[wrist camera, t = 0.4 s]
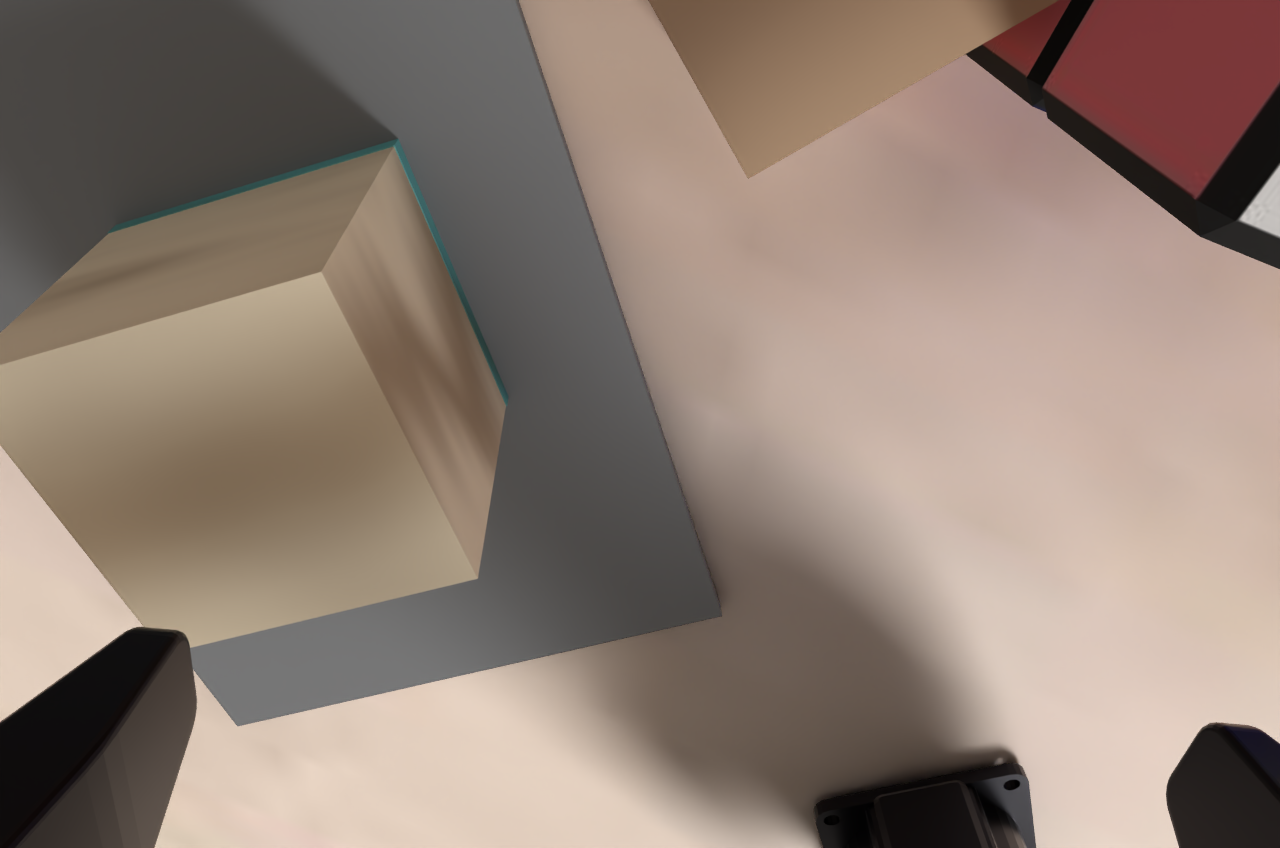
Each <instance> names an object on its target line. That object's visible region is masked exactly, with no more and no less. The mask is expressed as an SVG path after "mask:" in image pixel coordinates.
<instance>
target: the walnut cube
mask: <svg viewBox="0 0 1280 848" xmlns="http://www.w3.org/2000/svg"><path fill="white" fill-rule="evenodd" d="M1057 1H1059V0H649V2H650V4H651V6H652V7H653V9H654V11H655V13H656V15H657V16H658V18H659V20H660V22H661V23H662V25H663V27H664V29H665V31H666V32H667V34H668V36H669V38H670V40H671V41H672V43H673V45H674V47H675V49H676V50H677V52H678V54H679V56H680V58H681V59H682V61H683V63H684V65H685V67H686V68H687V70H688V72H689V74H690V76H691V77H692V79H693V81H694V83H695V84H696V86H697V88H698V90H699V92H700V93H701V95H702V97H703V99H704V101H705V102H706V104H707V106H708V108H709V110H710V111H711V113H712V115H713V117H714V119H715V120H716V122H717V124H718V126H719V128H720V129H721V131H722V133H723V135H724V137H725V138H726V140H727V142H728V144H729V145H730V147H731V149H732V151H733V153H734V154H735V156H736V158H737V160H738V162H739V163H740V165H741V167H742V169H743V171H744V172H745V174H746V176H747V178H748V179H749V178H750V177H752V176H754V175H756V174H757V173H759V172H761V171H762V170H764V169H766V168H768V167H769V166H771V165H773V164H775V163H776V162H778V161H780V160H782V159H783V158H785V157H787V156H789V155H790V154H792V153H794V152H796V151H797V150H799V149H801V148H803V147H804V146H806V145H808V144H810V143H811V142H813V141H815V140H816V139H818V138H820V137H822V136H823V135H825V134H827V133H829V132H830V131H832V130H834V129H836V128H837V127H839V126H841V125H843V124H844V123H846V122H848V121H850V120H851V119H853V118H855V117H857V116H858V115H860V114H862V113H863V112H865V111H867V110H869V109H870V108H872V107H874V106H876V105H877V104H879V103H881V102H883V101H884V100H886V99H888V98H890V97H891V96H893V95H895V94H897V93H898V92H900V91H902V90H904V89H905V88H907V87H909V86H911V85H912V84H914V83H916V82H917V81H919V80H921V79H923V78H924V77H926V76H928V75H930V74H931V73H933V72H935V71H937V70H938V69H940V68H942V67H944V66H945V65H947V64H949V63H951V62H952V61H954V60H956V59H958V58H959V57H961V56H963V55H965V54H966V53H968V52H970V51H971V50H973V49H975V48H977V47H978V46H980V45H982V44H984V43H985V42H987V41H989V40H991V39H992V38H994V37H996V36H998V35H999V34H1001V33H1003V32H1005V31H1006V30H1008V29H1010V28H1012V27H1013V26H1015V25H1017V24H1018V23H1020V22H1022V21H1024V20H1025V19H1027V18H1029V17H1031V16H1032V15H1034V14H1036V13H1038V12H1039V11H1041V10H1043V9H1045V8H1046V7H1048V6H1050V5H1052V4H1053V3H1055V2H1057Z"/></svg>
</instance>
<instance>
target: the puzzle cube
mask: <svg viewBox="0 0 1280 848" xmlns="http://www.w3.org/2000/svg"><path fill="white" fill-rule="evenodd" d="M966 55H967V56H968V57H970V58H971V59H972V60H974V61H975V62H976V63H977V64H979V65H980V66H981V67H983V68H984V69H985V70H986V71H988V72H989V73H990V74H992V75H993V76H994V77H995V78H997V79H998V80H999V81H1001V82H1002V83H1003V84H1004V85H1006V86H1007V87H1008V88H1010V89H1011V90H1012V91H1013V92H1015V93H1016V94H1017V95H1019V96H1020V97H1021V98H1022V99H1024V100H1025V101H1026V102H1028V103H1029V104H1030V105H1031V106H1033V107H1035V108H1038V109H1040V110H1042V111H1045V112H1046V113H1047V117H1048V119H1050V120H1051V121H1052V122H1053V123H1055V124H1056V125H1057V126H1059V127H1060V128H1061V129H1062V130H1064V131H1065V132H1066V133H1068V134H1069V135H1070V136H1071V137H1073V138H1074V139H1075V140H1076V141H1078V142H1079V143H1080V144H1082V145H1083V146H1084V147H1085V148H1087V149H1088V150H1089V151H1091V152H1092V153H1093V154H1094V155H1096V156H1097V157H1098V158H1100V159H1101V160H1102V161H1103V162H1105V163H1106V164H1107V165H1109V166H1110V167H1111V168H1112V169H1114V170H1115V171H1116V172H1118V173H1119V174H1120V175H1121V176H1123V177H1124V178H1125V179H1127V180H1128V181H1129V182H1130V183H1132V184H1133V185H1134V186H1136V187H1137V188H1138V189H1139V190H1141V191H1142V192H1143V193H1145V194H1146V195H1147V196H1148V197H1150V198H1151V199H1152V200H1154V201H1155V202H1156V203H1157V204H1159V205H1160V206H1161V207H1163V208H1164V209H1165V210H1166V211H1168V212H1169V213H1170V214H1172V215H1173V216H1174V217H1175V218H1177V219H1178V220H1179V221H1181V222H1182V223H1183V224H1184V225H1186V226H1187V227H1188V228H1190V229H1191V230H1192V231H1193V232H1195V233H1196V234H1197V235H1199V236H1200V237H1202V238H1205V239H1207V240H1210V241H1212V242H1215V243H1217V244H1219V245H1222V246H1224V247H1227V248H1229V249H1232V250H1234V251H1237V252H1239V253H1241V254H1244V255H1246V256H1249V257H1251V258H1254V259H1256V260H1259V261H1261V262H1263V263H1266V264H1268V265H1271V266H1273V267H1276V268H1278V269H1280V0H1059V1H1057V2H1055V3H1053V4H1052V5H1050V6H1048V7H1046V8H1045V9H1043V10H1041V11H1039V12H1038V13H1036V14H1034V15H1032V16H1031V17H1029V18H1027V19H1025V20H1024V21H1022V22H1020V23H1018V24H1017V25H1015V26H1013V27H1012V28H1010V29H1008V30H1006V31H1005V32H1003V33H1001V34H999V35H998V36H996V37H994V38H992V39H991V40H989V41H987V42H985V43H984V44H982V45H980V46H978V47H977V48H975V49H973V50H971V51H970V52H968V53H966Z"/></svg>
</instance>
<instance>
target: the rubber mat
mask: <svg viewBox="0 0 1280 848" xmlns="http://www.w3.org/2000/svg"><path fill="white" fill-rule="evenodd" d="M395 139H399V141H400V144H401V146H402V148H403V151H404V153H405V155H406V158H407V160H408V162H409V165H410V167H411V170H412V172H413V174H414V177H415V179H416V181H417V184H418V186H419V188H420V191H421V193H422V195H423V198H424V200H425V202H426V205H427V207H428V209H429V212H430V214H431V216H432V219H433V221H434V223H435V226H436V228H437V230H438V233H439V235H440V237H441V240H442V242H443V244H444V247H445V249H446V251H447V254H448V256H449V258H450V261H451V263H452V265H453V268H454V270H455V272H456V275H457V277H458V279H459V282H460V284H461V286H462V289H463V291H464V293H465V296H466V298H467V300H468V303H469V305H470V307H471V310H472V312H473V314H474V317H475V319H476V321H477V324H478V326H479V328H480V331H481V333H482V335H483V338H484V340H485V342H486V345H487V347H488V349H489V352H490V354H491V356H492V359H493V361H494V363H495V366H496V368H497V370H498V373H499V375H500V378H501V380H502V382H503V385H504V387H505V389H506V392H507V394H508V396H509V398H508V404H507V406H506V409H505V415H504V421H503V427H502V433H501V439H500V445H499V452H498V458H497V464H496V470H495V476H494V482H493V488H492V495H491V501H490V507H489V513H488V519H487V525H486V531H485V538H484V544H483V550H482V556H481V562H480V568H479V574H478V579H475V580H470V581H466V582H462V583H458V584H454V585H450V586H446V587H441V588H437V589H433V590H429V591H425V592H421V593H416V594H412V595H408V596H404V597H400V598H396V599H392V600H387V601H383V602H379V603H375V604H371V605H367V606H362V607H358V608H354V609H350V610H346V611H342V612H337V613H333V614H329V615H325V616H321V617H317V618H313V619H308V620H304V621H300V622H296V623H292V624H288V625H283V626H279V627H275V628H271V629H267V630H263V631H258V632H254V633H250V634H246V635H242V636H238V637H234V638H229V639H225V640H221V641H217V642H213V643H209V644H204V645H200V646H196V647H192V648H190V652H191V659H192V667H193V670H194V671H195V672H196V674H197V675H198V676H199V677H200V679H201V680H202V681H203V683H204V684H205V685H206V686H207V688H208V689H209V690H210V692H211V693H212V694H213V695H214V697H215V698H216V699H217V701H218V702H219V703H220V704H221V706H222V707H223V708H224V710H225V711H226V712H227V713H228V715H229V716H230V717H231V719H232V720H233V721H234V722H235V724H236V725H237V726H241V725H245V724H250V723H254V722H259V721H263V720H267V719H272V718H276V717H281V716H285V715H289V714H294V713H298V712H303V711H307V710H311V709H316V708H320V707H324V706H329V705H333V704H338V703H342V702H346V701H351V700H355V699H360V698H364V697H368V696H373V695H377V694H382V693H386V692H390V691H395V690H399V689H404V688H408V687H412V686H417V685H421V684H426V683H430V682H434V681H439V680H443V679H448V678H452V677H456V676H461V675H465V674H470V673H474V672H478V671H483V670H487V669H492V668H496V667H500V666H505V665H509V664H514V663H518V662H522V661H527V660H531V659H535V658H540V657H544V656H549V655H553V654H557V653H562V652H566V651H571V650H575V649H579V648H584V647H588V646H593V645H597V644H601V643H606V642H610V641H615V640H619V639H623V638H628V637H632V636H637V635H641V634H645V633H650V632H654V631H659V630H663V629H667V628H672V627H676V626H681V625H685V624H689V623H694V622H698V621H703V620H707V619H711V618H716V617H720V616H722V613H721V605H720V602H719V599H718V596H717V593H716V590H715V587H714V584H713V581H712V578H711V575H710V572H709V569H708V566H707V563H706V560H705V557H704V554H703V551H702V548H701V545H700V542H699V539H698V536H697V533H696V530H695V528H694V525H693V522H692V519H691V516H690V513H689V510H688V507H687V504H686V501H685V498H684V495H683V492H682V489H681V486H680V483H679V480H678V477H677V474H676V471H675V468H674V465H673V462H672V459H671V456H670V453H669V450H668V447H667V444H666V441H665V438H664V435H663V432H662V429H661V426H660V423H659V420H658V417H657V414H656V411H655V408H654V405H653V402H652V399H651V396H650V393H649V390H648V387H647V384H646V381H645V378H644V375H643V372H642V369H641V366H640V363H639V360H638V357H637V354H636V351H635V348H634V345H633V342H632V339H631V336H630V333H629V330H628V327H627V324H626V321H625V318H624V315H623V312H622V309H621V306H620V303H619V300H618V297H617V294H616V291H615V288H614V285H613V282H612V279H611V276H610V273H609V270H608V267H607V264H606V261H605V258H604V255H603V252H602V249H601V246H600V243H599V240H598V237H597V234H596V231H595V228H594V225H593V222H592V219H591V216H590V213H589V210H588V207H587V204H586V201H585V198H584V195H583V192H582V189H581V186H580V183H579V180H578V177H577V174H576V171H575V168H574V165H573V162H572V159H571V156H570V153H569V150H568V147H567V144H566V141H565V138H564V135H563V132H562V129H561V126H560V123H559V120H558V117H557V114H556V111H555V108H554V105H553V102H552V99H551V96H550V93H549V90H548V87H547V84H546V81H545V78H544V75H543V72H542V69H541V66H540V63H539V60H538V57H537V54H536V51H535V48H534V45H533V42H532V39H531V36H530V33H529V30H528V27H527V24H526V21H525V18H524V15H523V12H522V9H521V6H520V3H519V0H0V333H1V332H2V331H3V330H4V329H5V328H6V327H7V326H8V325H9V324H10V323H12V322H13V321H14V320H15V319H16V318H17V317H18V316H19V315H20V314H21V313H22V312H24V311H25V310H26V309H27V308H28V307H29V306H30V305H31V304H32V303H33V302H34V301H36V300H37V299H38V298H39V297H40V296H41V295H42V294H43V293H44V292H45V291H46V290H48V289H49V288H50V287H51V286H52V285H53V284H54V283H55V282H56V281H57V280H58V279H60V278H61V277H62V276H63V275H64V274H65V273H66V272H67V271H68V270H69V269H70V268H72V267H73V266H74V265H75V264H76V263H77V262H78V261H79V260H80V259H81V258H82V257H84V256H85V255H86V254H87V253H88V252H89V251H90V250H91V249H92V248H93V247H94V246H96V245H97V244H98V243H99V242H100V241H101V240H102V239H103V238H104V237H105V236H107V235H108V232H109V231H110V230H111V229H112V228H113V227H114V226H115V225H117V224H121V223H124V222H127V221H130V220H134V219H137V218H140V217H144V216H147V215H150V214H153V213H157V212H160V211H163V210H166V209H170V208H173V207H176V206H179V205H183V204H186V203H189V202H193V201H196V200H199V199H202V198H206V197H209V196H212V195H215V194H219V193H222V192H225V191H229V190H232V189H235V188H238V187H242V186H245V185H248V184H251V183H255V182H258V181H261V180H264V179H268V178H271V177H274V176H278V175H281V174H284V173H287V172H291V171H294V170H297V169H300V168H304V167H307V166H310V165H313V164H317V163H320V162H323V161H327V160H330V159H333V158H336V157H340V156H343V155H346V154H349V153H353V152H356V151H359V150H362V149H366V148H369V147H372V146H376V145H379V144H382V143H385V142H389V141H392V140H395Z"/></svg>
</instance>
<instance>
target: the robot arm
mask: <svg viewBox="0 0 1280 848" xmlns="http://www.w3.org/2000/svg"><path fill="white" fill-rule="evenodd" d="M196 709H197V696H196V689H195V682H194V674H193V667H192V659H191V652H190V645H189V641H188V638H187V637H186V635H185V634H184V633H183V632H181V631H178V630H171V629H159V628H148V627H136V628H133V629H130V630H128V631H126V632H124V633H123V634H122V635H120V636H119V637H117V638H116V639H115V640H113V641H112V642H110V643H109V644H108V645H106V646H105V647H103V648H102V649H101V650H99V651H98V652H97V653H95V654H94V655H92V656H91V657H90V658H88V659H87V660H85V661H84V662H83V663H81V664H80V665H79V666H77V667H76V668H74V669H73V670H72V671H70V672H69V673H67V674H66V675H65V676H63V677H62V678H61V679H59V680H58V681H56V682H55V683H54V684H52V685H51V686H49V687H48V688H47V689H45V690H44V691H43V692H41V693H40V694H38V695H37V696H36V697H34V698H33V699H31V700H30V701H29V702H27V703H26V704H25V705H23V706H22V707H20V708H19V709H18V710H16V711H15V712H13V713H12V714H11V715H9V716H8V717H7V718H5V719H4V720H2V721H1V722H0V848H154V847H155V844H156V841H157V838H158V835H159V832H160V829H161V826H162V822H163V819H164V816H165V813H166V810H167V807H168V804H169V801H170V798H171V794H172V791H173V788H174V785H175V782H176V779H177V776H178V773H179V770H180V766H181V763H182V760H183V757H184V754H185V751H186V748H187V745H188V741H189V738H190V735H191V732H192V729H193V725H194V721H195V716H196ZM1166 798H1167V806H1168V811H1169V814H1170V817H1171V821H1172V824H1173V828H1174V831H1175V835H1176V838H1177V841H1178V845H1179V848H1280V744H1279V743H1278V742H1277V741H1275V740H1274V739H1273V738H1271V737H1270V736H1269V735H1267V734H1266V733H1265V732H1263V731H1262V730H1260V729H1258V728H1256V727H1252V726H1249V725H1239V724H1228V723H1217V722H1216V723H1210V724H1208V725H1206V726H1204V727H1203V728H1202V729H1201V730H1200V731H1199V732H1198V734H1197V735H1196V737H1195V738H1194V740H1193V742H1192V743H1191V745H1190V746H1189V748H1188V749H1187V751H1186V753H1185V754H1184V756H1183V757H1182V759H1181V760H1180V762H1179V763H1178V765H1177V767H1176V768H1175V770H1174V771H1173V773H1172V774H1171V776H1170V778H1169V780H1168V784H1167V791H1166ZM814 816H815V821H816V825H817V828H818V832H819V835H820V838H821V841H822V844H823V848H1036V843H1035V834H1034V825H1033V816H1032V807H1031V799H1030V790H1029V781H1028V779H1027V777H1026V774H1025V772H1024V770H1023V767H1022V766H1020V765H1019V764H1014V763H1008V764H1002V765H997V766H992V767H987V768H982V769H977V770H972V771H967V772H962V773H957V774H952V775H947V776H942V777H937V778H932V779H927V780H922V781H917V782H912V783H907V784H902V785H897V786H892V787H887V788H882V789H876V790H871V791H866V792H861V793H856V794H851V795H846V796H841V797H836V798H831V799H827V800H823V801H821V802H819V803H818V804H816V806H815V807H814Z"/></svg>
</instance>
